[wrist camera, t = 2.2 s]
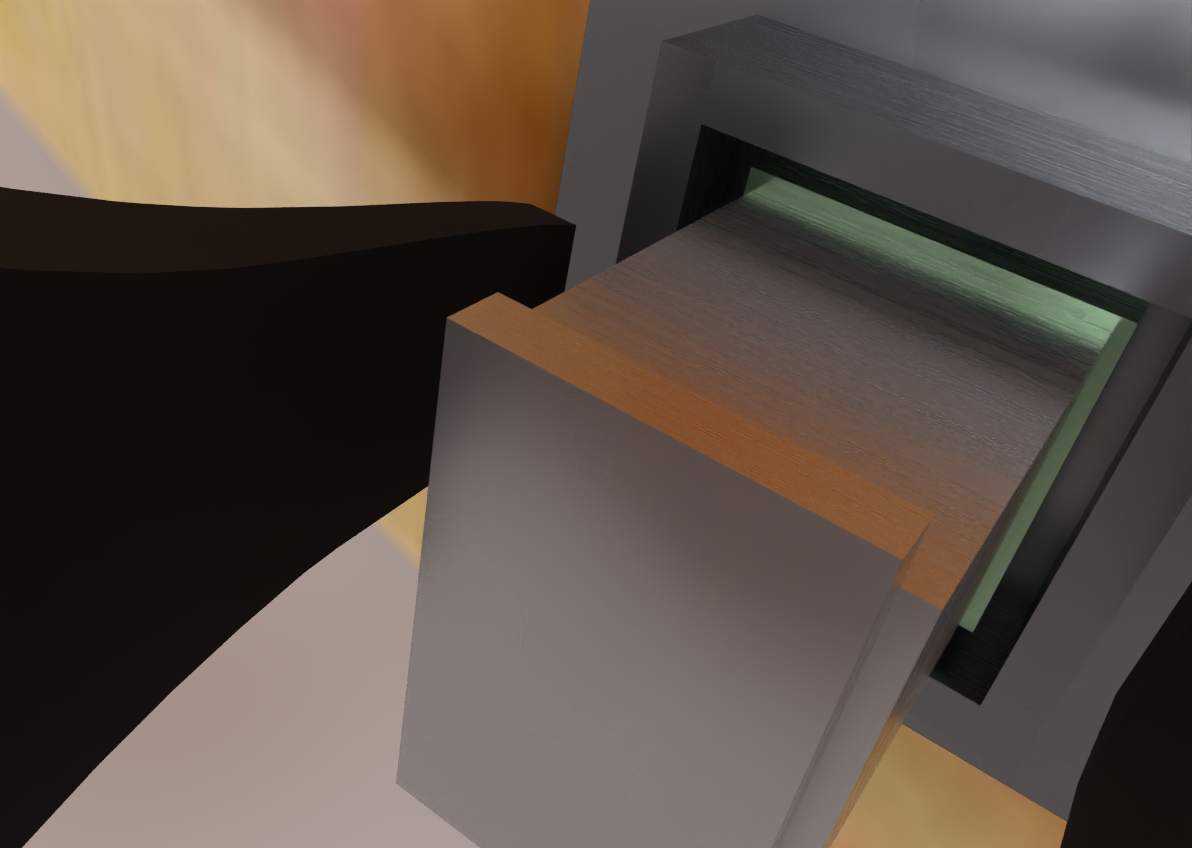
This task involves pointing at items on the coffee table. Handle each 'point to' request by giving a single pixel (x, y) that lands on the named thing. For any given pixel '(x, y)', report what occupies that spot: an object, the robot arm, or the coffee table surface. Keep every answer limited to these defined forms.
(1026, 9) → the grey slotted holder
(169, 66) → the coffee table surface
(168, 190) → the coffee table surface
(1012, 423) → the pull-out drawer
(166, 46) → the coffee table surface
